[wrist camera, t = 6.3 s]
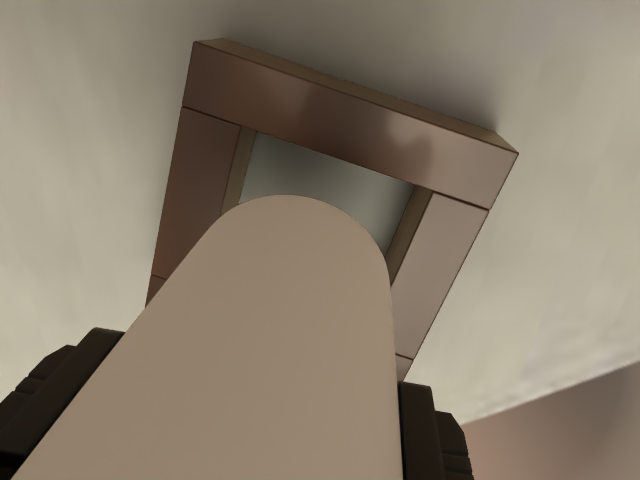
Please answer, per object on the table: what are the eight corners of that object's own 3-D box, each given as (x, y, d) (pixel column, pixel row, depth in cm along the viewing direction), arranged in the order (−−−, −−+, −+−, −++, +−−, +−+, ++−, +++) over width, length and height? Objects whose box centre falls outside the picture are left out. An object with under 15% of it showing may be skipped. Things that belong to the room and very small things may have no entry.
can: (369, 374, 17) (361, 979, 6) (193, 341, 17) (-105, 875, 7) (411, 209, 14) (522, 783, 4) (201, 171, 15) (-291, 611, 4)
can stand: (172, 279, 25) (142, 316, 21) (222, 37, 20) (192, 40, 16) (392, 350, 25) (395, 398, 22) (497, 132, 20) (520, 152, 17)
